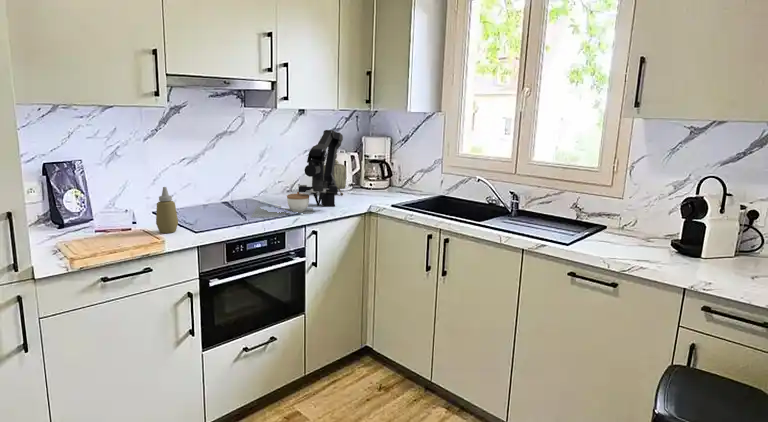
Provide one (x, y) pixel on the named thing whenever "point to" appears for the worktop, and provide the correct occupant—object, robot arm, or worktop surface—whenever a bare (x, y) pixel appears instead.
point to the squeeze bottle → (166, 213)
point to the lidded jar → (298, 202)
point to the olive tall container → (339, 175)
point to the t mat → (265, 213)
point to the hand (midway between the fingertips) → (318, 205)
